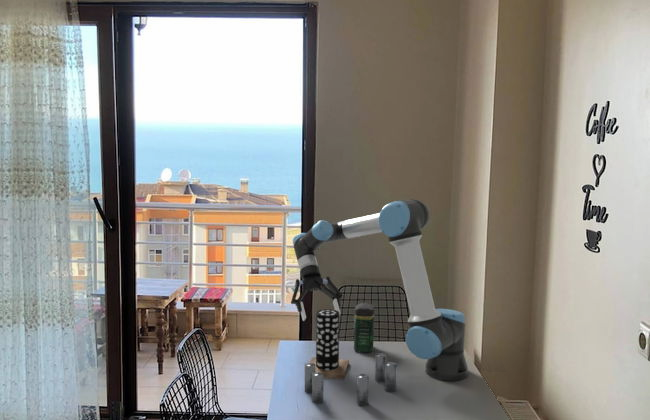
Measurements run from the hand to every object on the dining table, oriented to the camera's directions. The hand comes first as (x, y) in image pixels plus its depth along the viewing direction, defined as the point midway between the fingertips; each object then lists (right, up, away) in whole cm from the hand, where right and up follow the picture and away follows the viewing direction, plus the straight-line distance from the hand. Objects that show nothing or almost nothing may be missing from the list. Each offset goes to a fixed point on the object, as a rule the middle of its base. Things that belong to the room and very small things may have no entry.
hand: (321, 317), depth 200 cm
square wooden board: (+2, -19, -2) cm, 19 cm away
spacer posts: (+10, -21, -20) cm, 30 cm away
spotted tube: (+2, -17, -2) cm, 18 cm away
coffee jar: (+17, -17, +18) cm, 30 cm away
